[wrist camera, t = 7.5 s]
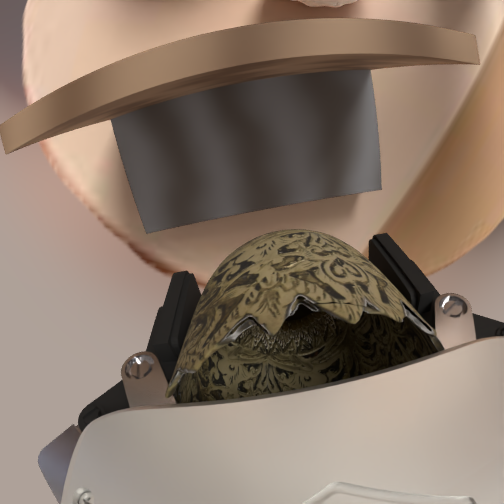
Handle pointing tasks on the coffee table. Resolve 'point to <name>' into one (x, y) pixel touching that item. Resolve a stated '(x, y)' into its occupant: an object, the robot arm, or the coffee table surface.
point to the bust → (326, 2)
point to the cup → (295, 321)
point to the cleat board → (244, 113)
